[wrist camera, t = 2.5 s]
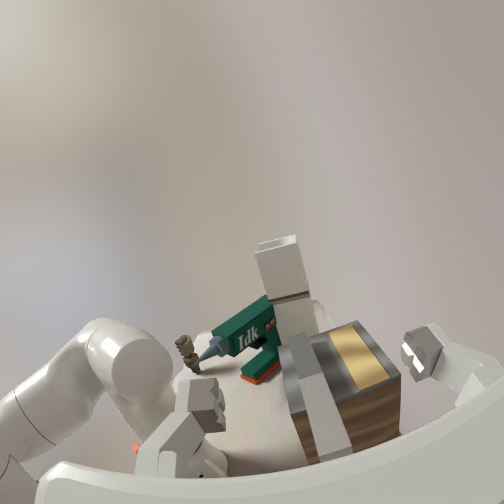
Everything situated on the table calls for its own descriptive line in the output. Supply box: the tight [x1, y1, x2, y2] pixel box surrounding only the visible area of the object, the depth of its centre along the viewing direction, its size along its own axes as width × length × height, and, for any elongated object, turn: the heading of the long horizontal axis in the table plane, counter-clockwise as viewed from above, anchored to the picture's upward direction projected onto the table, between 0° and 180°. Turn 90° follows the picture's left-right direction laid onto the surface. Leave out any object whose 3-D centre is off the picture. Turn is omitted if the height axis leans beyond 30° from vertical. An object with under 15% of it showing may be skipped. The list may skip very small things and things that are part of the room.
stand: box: [277, 320, 401, 465], centre depth 38 cm, size 16×14×26 cm
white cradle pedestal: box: [255, 235, 319, 345], centre depth 81 cm, size 11×11×35 cm
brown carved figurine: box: [175, 335, 201, 373], centre depth 85 cm, size 6×6×15 cm
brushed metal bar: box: [287, 331, 353, 463], centre depth 30 cm, size 23×3×2 cm, turn 1°
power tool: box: [194, 295, 282, 385], centre depth 74 cm, size 32×7×20 cm, turn 135°
